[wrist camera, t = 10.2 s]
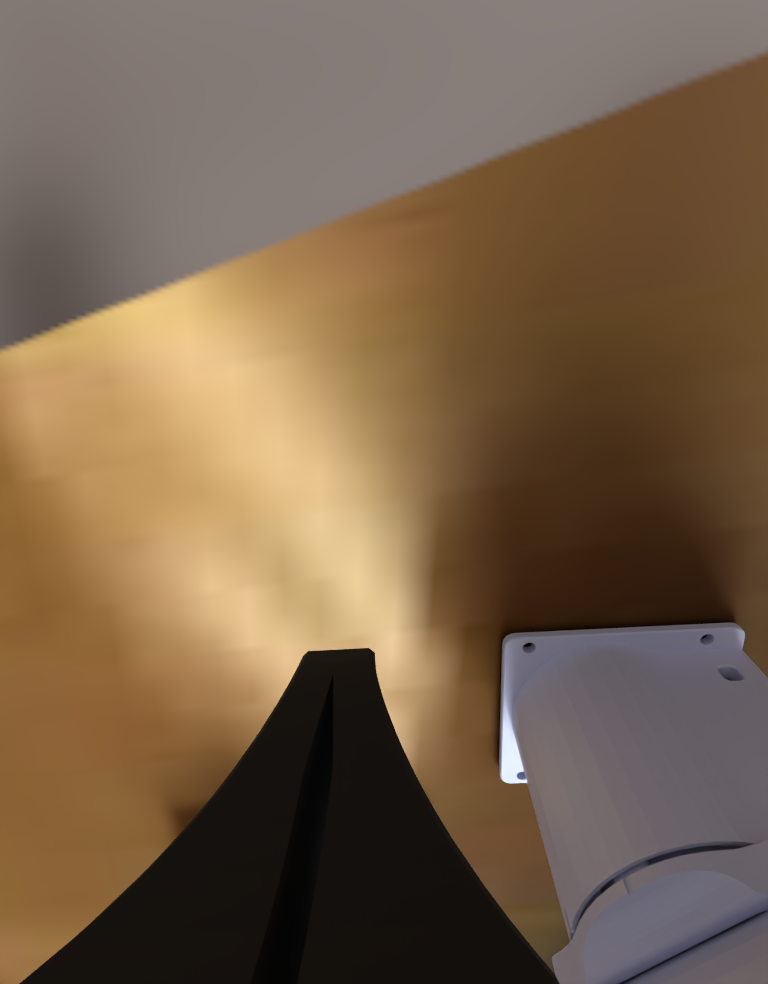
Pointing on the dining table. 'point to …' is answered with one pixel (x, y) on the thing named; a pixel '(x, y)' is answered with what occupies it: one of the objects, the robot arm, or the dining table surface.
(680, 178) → the dining table surface
